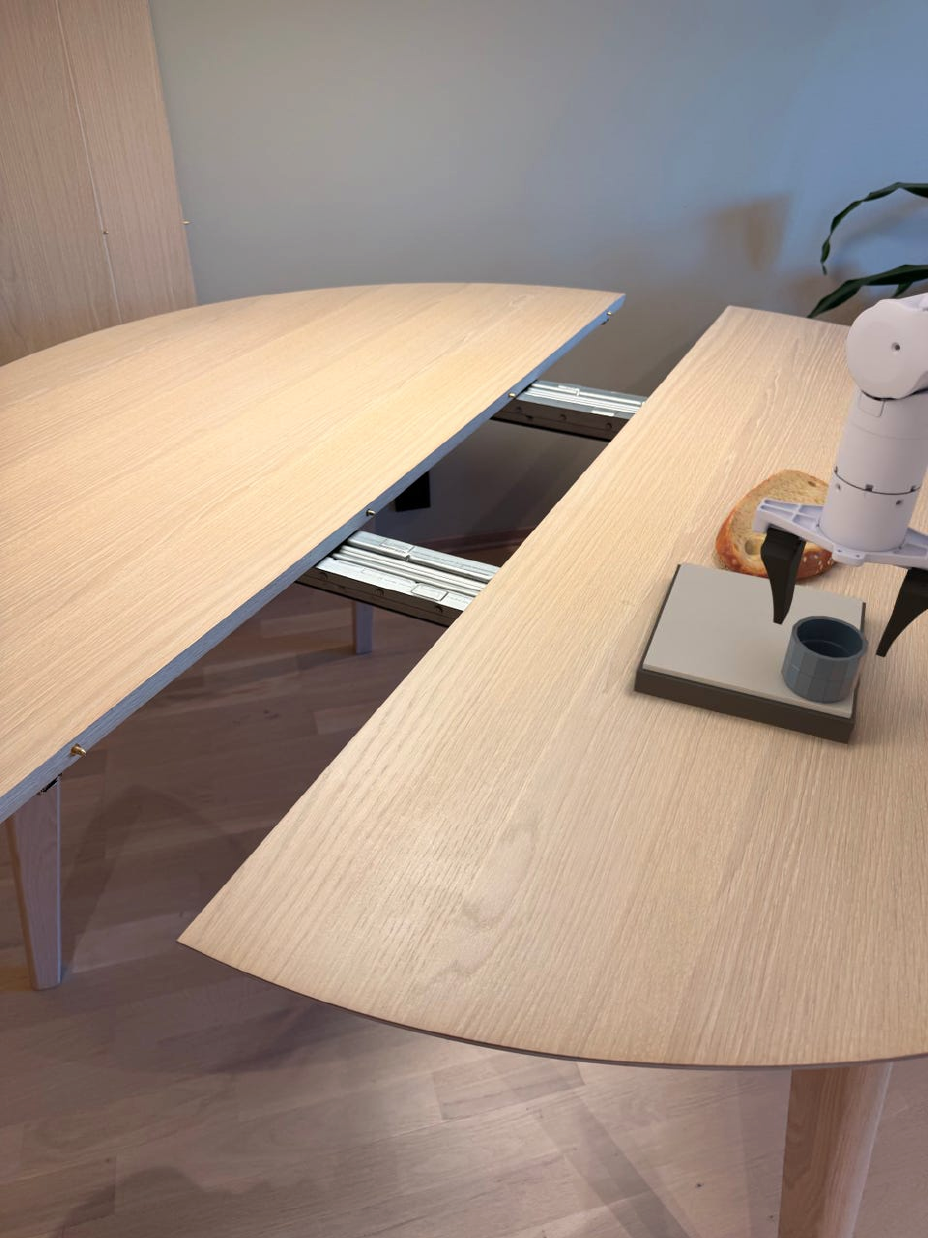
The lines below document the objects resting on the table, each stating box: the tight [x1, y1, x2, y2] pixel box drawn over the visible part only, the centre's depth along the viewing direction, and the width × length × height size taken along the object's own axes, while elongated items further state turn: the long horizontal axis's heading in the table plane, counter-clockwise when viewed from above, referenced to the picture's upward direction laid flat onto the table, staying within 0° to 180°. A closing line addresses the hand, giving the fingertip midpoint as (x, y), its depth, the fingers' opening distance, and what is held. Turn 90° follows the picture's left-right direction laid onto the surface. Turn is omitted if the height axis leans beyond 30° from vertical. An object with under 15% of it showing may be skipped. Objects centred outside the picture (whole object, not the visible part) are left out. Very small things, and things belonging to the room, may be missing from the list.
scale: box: [633, 561, 867, 745], centre depth 82 cm, size 17×17×3 cm
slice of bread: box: [715, 469, 837, 579], centre depth 98 cm, size 18×18×4 cm
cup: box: [781, 616, 869, 703], centre depth 74 cm, size 6×6×4 cm
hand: (830, 632), depth 72 cm, fingers open, 7 cm apart
